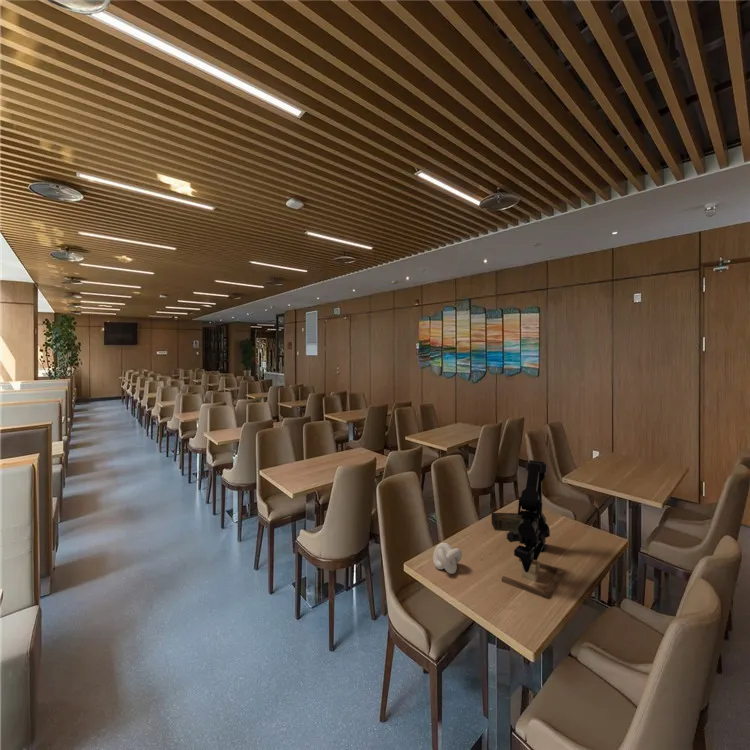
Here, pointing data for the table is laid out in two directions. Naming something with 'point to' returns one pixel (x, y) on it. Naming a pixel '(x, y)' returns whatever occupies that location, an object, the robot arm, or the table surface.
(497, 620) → the table surface
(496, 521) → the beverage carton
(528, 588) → the bay
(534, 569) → the oak block
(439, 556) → the white decorative knot
